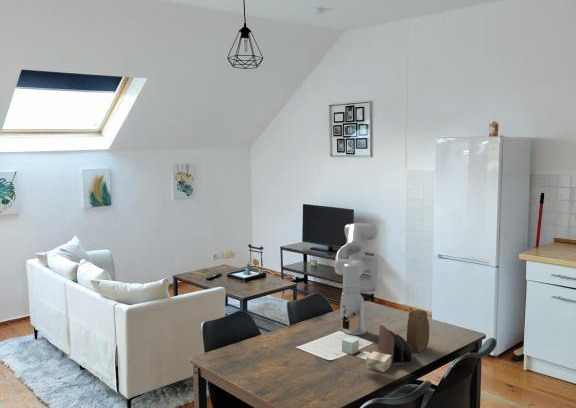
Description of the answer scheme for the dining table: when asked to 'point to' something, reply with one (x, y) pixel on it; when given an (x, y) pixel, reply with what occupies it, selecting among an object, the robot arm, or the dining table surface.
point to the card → (363, 355)
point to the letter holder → (394, 347)
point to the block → (418, 330)
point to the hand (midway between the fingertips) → (349, 326)
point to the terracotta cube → (351, 322)
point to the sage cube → (350, 345)
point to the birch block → (378, 361)
